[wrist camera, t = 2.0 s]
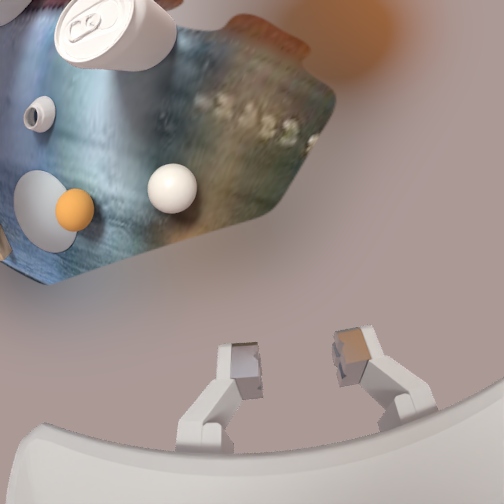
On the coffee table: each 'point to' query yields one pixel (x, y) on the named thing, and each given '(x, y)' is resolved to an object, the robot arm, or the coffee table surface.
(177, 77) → the coffee table surface
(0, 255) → the wall
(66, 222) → the orange ball
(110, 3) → the beverage can
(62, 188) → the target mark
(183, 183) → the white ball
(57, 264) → the coffee table surface
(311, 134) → the coffee table surface
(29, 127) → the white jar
